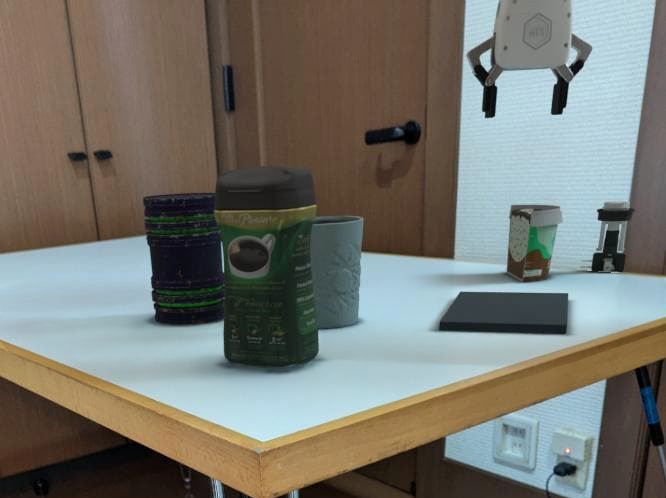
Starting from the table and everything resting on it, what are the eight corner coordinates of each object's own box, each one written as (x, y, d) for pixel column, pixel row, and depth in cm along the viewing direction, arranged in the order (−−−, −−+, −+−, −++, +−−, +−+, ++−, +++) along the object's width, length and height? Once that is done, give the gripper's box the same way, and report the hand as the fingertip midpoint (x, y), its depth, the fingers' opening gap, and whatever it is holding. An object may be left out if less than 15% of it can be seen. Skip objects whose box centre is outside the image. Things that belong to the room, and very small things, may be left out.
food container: (567, 282, 119) (576, 209, 114) (525, 283, 119) (532, 211, 114) (542, 269, 130) (549, 203, 125) (504, 271, 130) (510, 204, 125)
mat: (567, 300, 106) (568, 293, 105) (566, 334, 89) (567, 324, 89) (459, 298, 110) (460, 291, 110) (438, 330, 93) (439, 321, 93)
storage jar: (215, 326, 101) (206, 197, 94) (142, 325, 103) (129, 199, 96) (236, 310, 109) (230, 191, 103) (169, 310, 112) (158, 194, 105)
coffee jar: (329, 355, 85) (328, 162, 76) (295, 374, 79) (290, 166, 70) (250, 348, 89) (241, 165, 81) (212, 365, 83) (198, 169, 75)
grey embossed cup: (356, 330, 95) (357, 222, 90) (273, 329, 97) (270, 224, 92) (367, 313, 104) (368, 214, 98) (290, 313, 106) (288, 216, 101)
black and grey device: (579, 273, 125) (588, 204, 120) (579, 268, 129) (588, 201, 125) (626, 273, 123) (637, 203, 118) (624, 268, 127) (635, 200, 123)
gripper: (479, -30, 105) (469, 118, 112) (611, -36, 104) (592, 112, 112) (465, -19, 111) (457, 119, 119) (590, -25, 111) (573, 114, 119)
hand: (523, 116), depth 116 cm, fingers open, 9 cm apart
